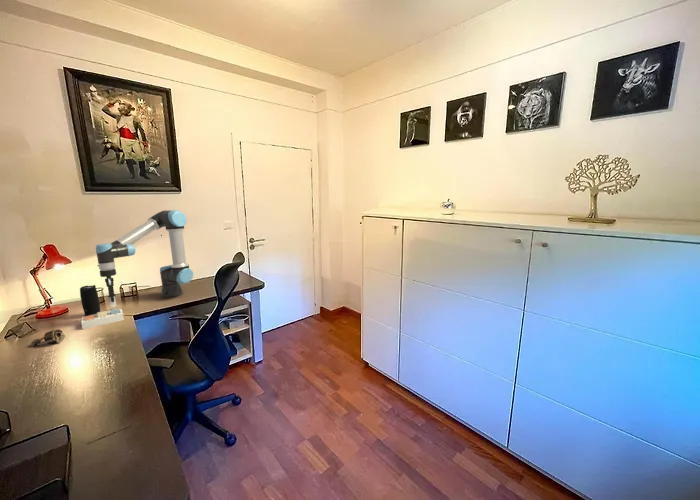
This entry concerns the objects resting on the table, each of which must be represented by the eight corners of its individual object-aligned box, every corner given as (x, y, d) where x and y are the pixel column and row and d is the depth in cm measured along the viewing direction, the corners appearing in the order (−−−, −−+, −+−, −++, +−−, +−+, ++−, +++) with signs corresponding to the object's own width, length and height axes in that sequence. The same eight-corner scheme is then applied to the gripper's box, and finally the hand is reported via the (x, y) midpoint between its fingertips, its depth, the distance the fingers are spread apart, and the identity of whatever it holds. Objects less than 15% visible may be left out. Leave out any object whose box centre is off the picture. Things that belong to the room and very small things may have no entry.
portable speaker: (89, 318, 187) (84, 289, 183) (81, 316, 190) (75, 287, 187) (104, 313, 194) (99, 285, 191) (96, 311, 198) (90, 284, 194)
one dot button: (119, 312, 187) (118, 307, 186) (120, 314, 183) (119, 309, 183) (110, 314, 184) (109, 309, 183) (111, 316, 180) (110, 311, 180)
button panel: (122, 314, 191) (121, 308, 190) (123, 319, 182) (122, 313, 181) (83, 323, 179) (81, 316, 178) (82, 329, 170) (81, 322, 169)
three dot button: (95, 319, 179) (94, 314, 179) (95, 321, 176) (94, 316, 175) (85, 321, 176) (84, 316, 176) (85, 323, 173) (84, 318, 172)
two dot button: (107, 314, 183) (106, 310, 182) (107, 316, 179) (106, 312, 179) (98, 316, 180) (97, 312, 179) (98, 318, 177) (97, 314, 176)
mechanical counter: (46, 338, 147) (66, 326, 156) (23, 336, 148) (44, 324, 157) (51, 350, 150) (70, 337, 159) (28, 347, 151) (49, 334, 160)
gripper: (99, 268, 181) (105, 305, 185) (99, 272, 171) (106, 310, 175) (114, 266, 186) (120, 302, 190) (116, 269, 176) (122, 307, 180)
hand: (113, 306), depth 183 cm, fingers closed
